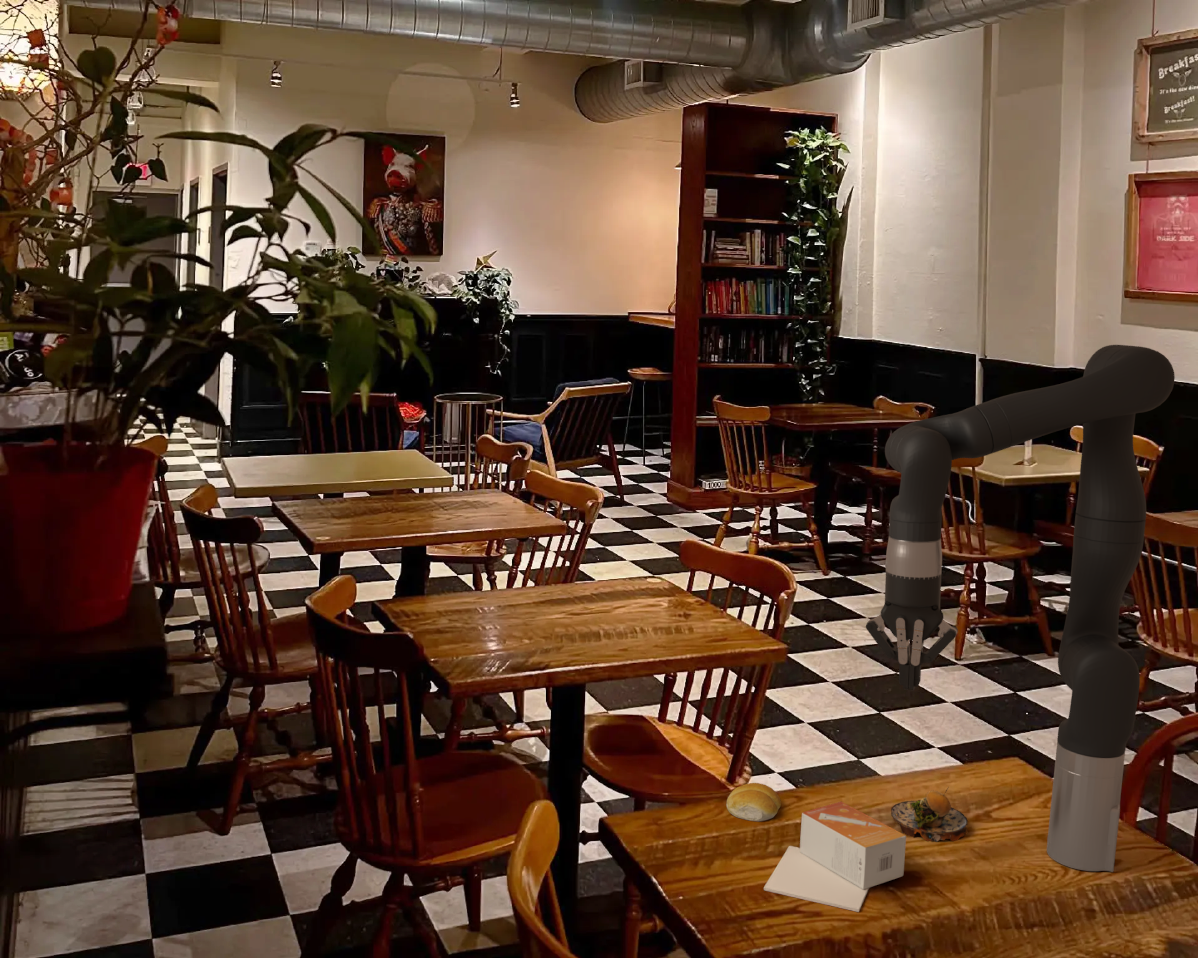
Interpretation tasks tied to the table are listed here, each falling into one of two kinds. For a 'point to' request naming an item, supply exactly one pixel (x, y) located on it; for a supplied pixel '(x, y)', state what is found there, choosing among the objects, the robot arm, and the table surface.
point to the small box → (852, 844)
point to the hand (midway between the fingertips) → (909, 688)
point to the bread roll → (753, 802)
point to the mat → (813, 882)
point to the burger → (930, 818)
